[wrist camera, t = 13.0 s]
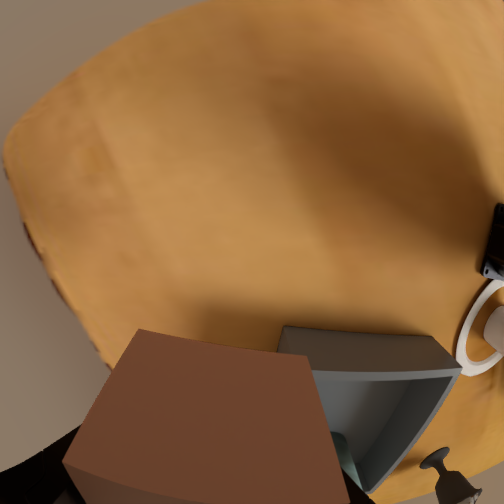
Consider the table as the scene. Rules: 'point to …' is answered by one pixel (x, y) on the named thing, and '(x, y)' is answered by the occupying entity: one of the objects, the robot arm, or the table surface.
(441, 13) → the table surface
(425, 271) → the table surface
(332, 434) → the cylinder
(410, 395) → the tote
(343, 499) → the cube
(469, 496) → the sundae
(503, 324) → the candle holder
